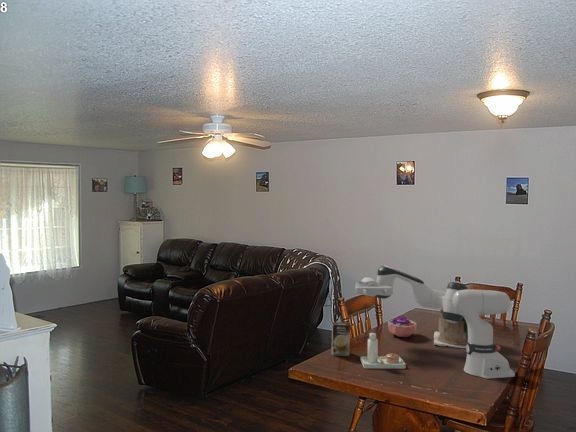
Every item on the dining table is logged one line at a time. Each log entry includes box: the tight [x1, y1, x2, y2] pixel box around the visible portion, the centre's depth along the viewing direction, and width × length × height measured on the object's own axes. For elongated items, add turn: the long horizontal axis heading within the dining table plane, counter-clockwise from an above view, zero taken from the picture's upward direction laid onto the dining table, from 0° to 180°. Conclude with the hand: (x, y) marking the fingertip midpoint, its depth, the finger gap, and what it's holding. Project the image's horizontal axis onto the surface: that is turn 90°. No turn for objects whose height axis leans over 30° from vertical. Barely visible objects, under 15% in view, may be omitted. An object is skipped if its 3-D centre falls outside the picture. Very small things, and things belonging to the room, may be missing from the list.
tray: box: [359, 355, 407, 370], centre depth 251 cm, size 20×12×2 cm, turn 91°
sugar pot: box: [385, 353, 400, 364], centre depth 251 cm, size 6×6×6 cm
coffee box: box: [330, 321, 351, 357], centre depth 267 cm, size 9×6×16 cm
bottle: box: [366, 332, 379, 364], centre depth 250 cm, size 5×5×14 cm
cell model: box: [387, 315, 418, 338], centre depth 302 cm, size 17×20×11 cm
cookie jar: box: [433, 310, 468, 349], centre depth 290 cm, size 25×25×32 cm
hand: (376, 292), depth 268 cm, fingers open, 8 cm apart
